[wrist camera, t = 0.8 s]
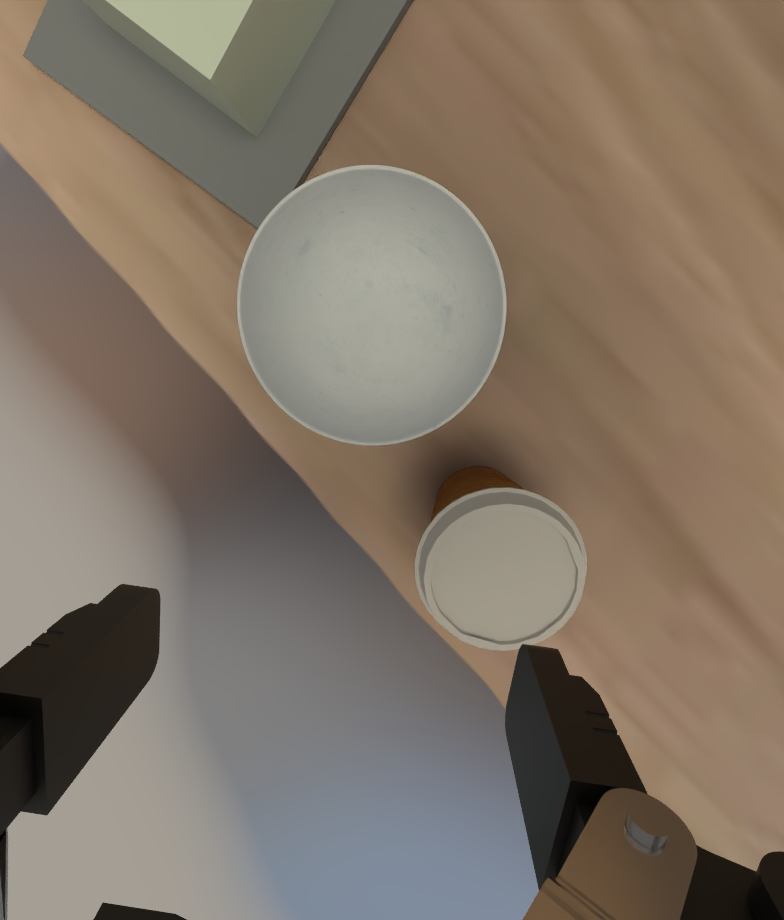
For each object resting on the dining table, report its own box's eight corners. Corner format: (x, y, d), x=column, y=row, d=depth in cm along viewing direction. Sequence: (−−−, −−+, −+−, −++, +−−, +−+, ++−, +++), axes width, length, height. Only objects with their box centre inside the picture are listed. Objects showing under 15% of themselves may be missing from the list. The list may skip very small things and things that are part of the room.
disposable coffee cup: (388, 503, 40) (378, 575, 28) (483, 418, 38) (514, 457, 26) (471, 587, 41) (495, 689, 30) (567, 509, 39) (632, 585, 28)
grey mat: (188, -278, 29) (181, -299, 28) (448, -59, 31) (449, -71, 30) (34, 63, 34) (22, 55, 33) (270, 237, 36) (266, 234, 35)
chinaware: (454, 444, 39) (465, 472, 31) (255, 395, 38) (217, 412, 31) (514, 230, 35) (542, 204, 28) (294, 174, 35) (262, 132, 27)
